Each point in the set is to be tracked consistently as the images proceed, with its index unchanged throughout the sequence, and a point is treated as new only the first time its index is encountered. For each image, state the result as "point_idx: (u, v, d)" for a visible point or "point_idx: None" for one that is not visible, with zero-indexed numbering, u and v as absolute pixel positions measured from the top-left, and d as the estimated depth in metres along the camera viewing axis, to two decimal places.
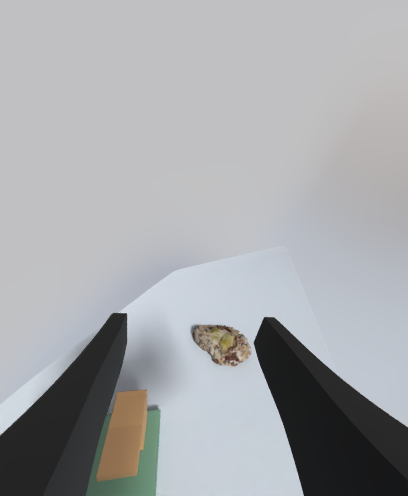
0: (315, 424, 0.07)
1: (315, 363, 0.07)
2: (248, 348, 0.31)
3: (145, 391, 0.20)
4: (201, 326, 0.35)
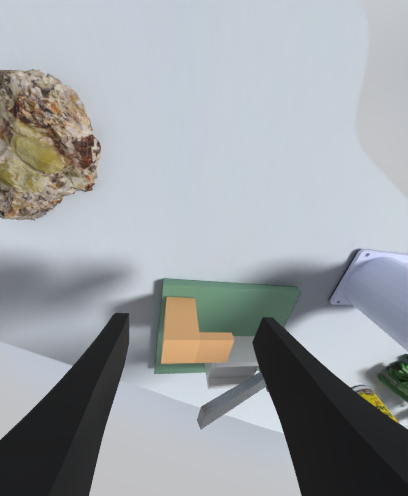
0: (313, 424, 0.07)
1: (313, 363, 0.07)
2: (57, 91, 0.11)
3: (165, 340, 0.15)
4: None
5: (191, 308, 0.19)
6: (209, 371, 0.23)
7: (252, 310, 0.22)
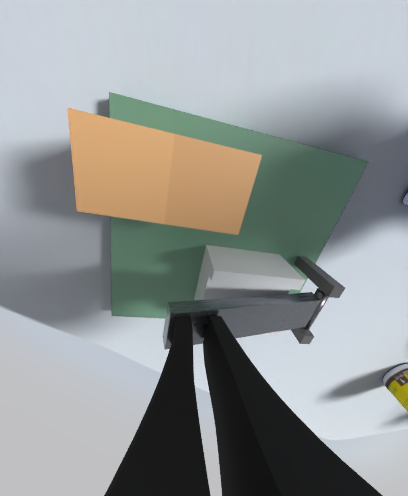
0: (233, 432, 0.06)
1: (244, 365, 0.07)
2: None
3: (74, 113, 0.05)
4: None
5: None
6: None
7: (279, 195, 0.13)
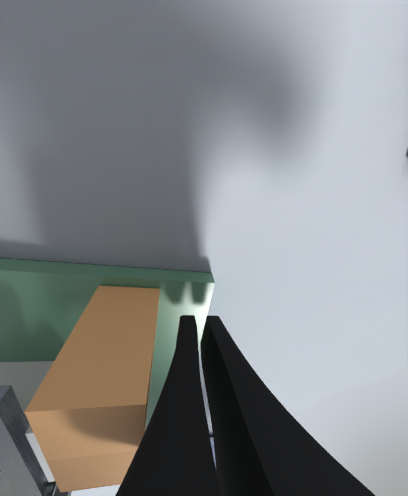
0: (229, 432, 0.06)
1: (240, 365, 0.07)
2: None
3: (142, 405, 0.05)
4: None
5: None
6: None
7: None
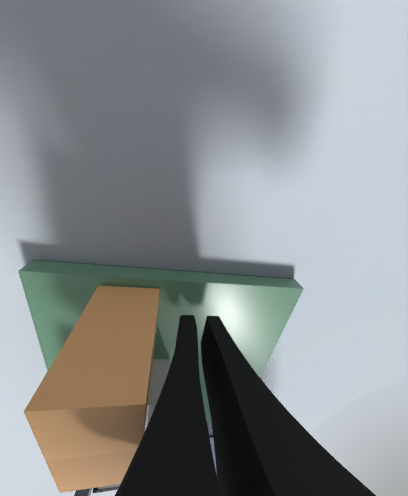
0: (229, 433, 0.06)
1: (240, 365, 0.07)
2: None
3: (142, 404, 0.05)
4: None
5: None
6: None
7: None
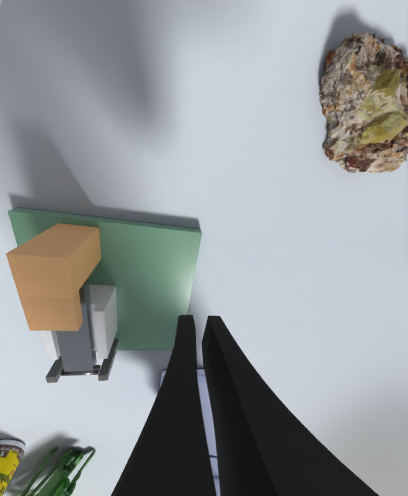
0: (231, 432, 0.06)
1: (242, 365, 0.07)
2: (402, 160, 0.15)
3: (65, 259, 0.11)
4: (367, 44, 0.12)
5: (94, 263, 0.15)
6: None
7: (158, 318, 0.21)
